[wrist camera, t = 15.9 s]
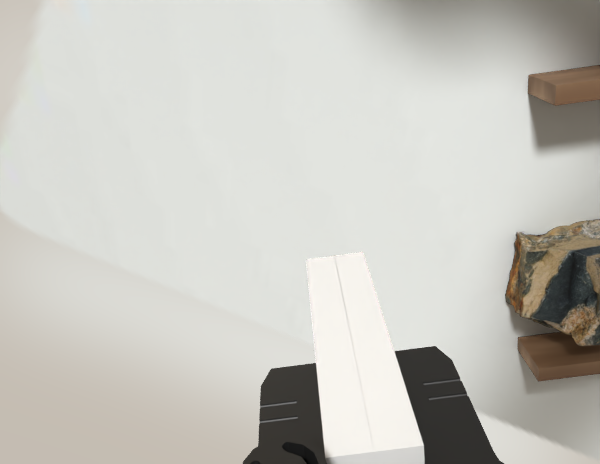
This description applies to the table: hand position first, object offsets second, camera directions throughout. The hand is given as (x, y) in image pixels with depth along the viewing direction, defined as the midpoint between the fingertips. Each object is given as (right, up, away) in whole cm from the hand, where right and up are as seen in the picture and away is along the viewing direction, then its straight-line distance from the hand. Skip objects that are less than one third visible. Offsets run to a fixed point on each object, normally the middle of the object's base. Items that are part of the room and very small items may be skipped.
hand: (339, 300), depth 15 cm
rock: (+19, -1, +28) cm, 34 cm away
